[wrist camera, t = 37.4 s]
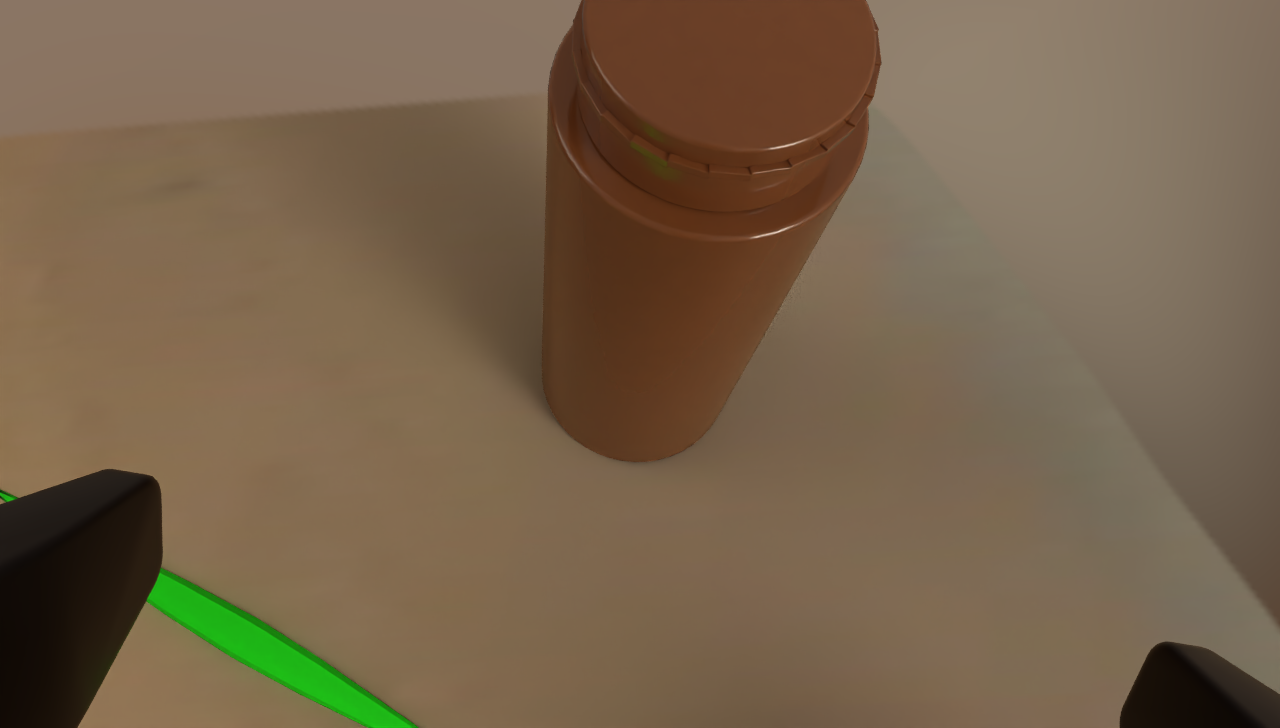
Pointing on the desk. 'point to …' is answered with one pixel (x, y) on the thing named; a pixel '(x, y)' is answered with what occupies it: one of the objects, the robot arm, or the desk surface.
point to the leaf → (265, 650)
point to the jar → (688, 199)
